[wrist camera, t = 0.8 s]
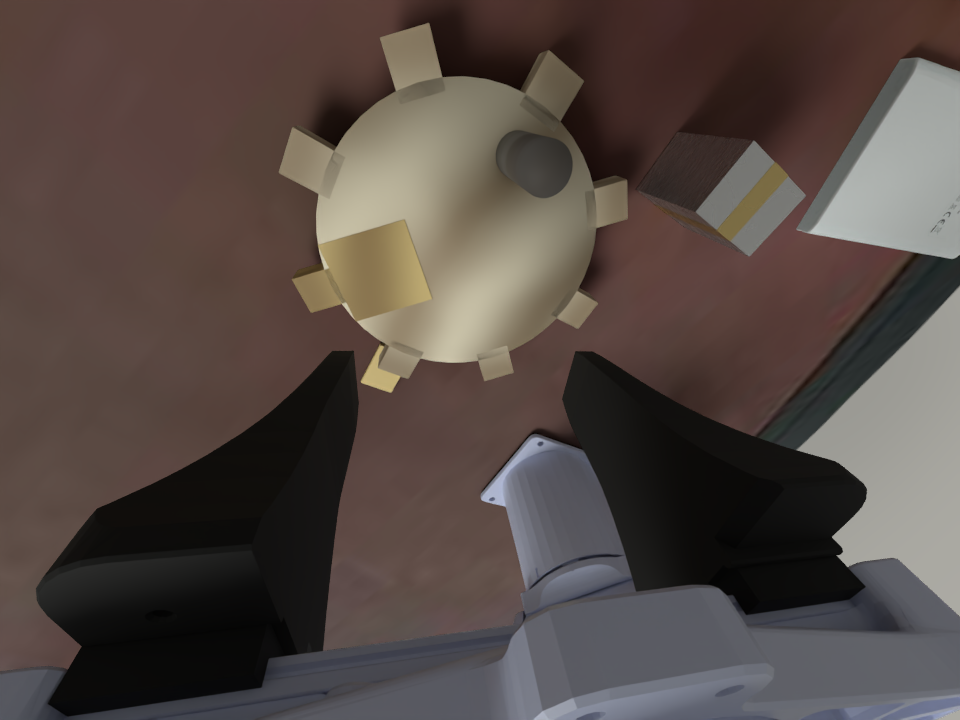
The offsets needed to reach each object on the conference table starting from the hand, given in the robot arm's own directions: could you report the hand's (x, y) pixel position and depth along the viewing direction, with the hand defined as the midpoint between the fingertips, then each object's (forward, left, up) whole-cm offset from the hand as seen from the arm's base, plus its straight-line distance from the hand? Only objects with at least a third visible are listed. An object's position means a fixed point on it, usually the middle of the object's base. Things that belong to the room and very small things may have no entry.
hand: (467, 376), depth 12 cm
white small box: (-9, -10, -10) cm, 17 cm away
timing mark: (0, +7, -10) cm, 12 cm away
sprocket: (0, -2, -10) cm, 10 cm away
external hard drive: (-22, -18, -11) cm, 30 cm away
